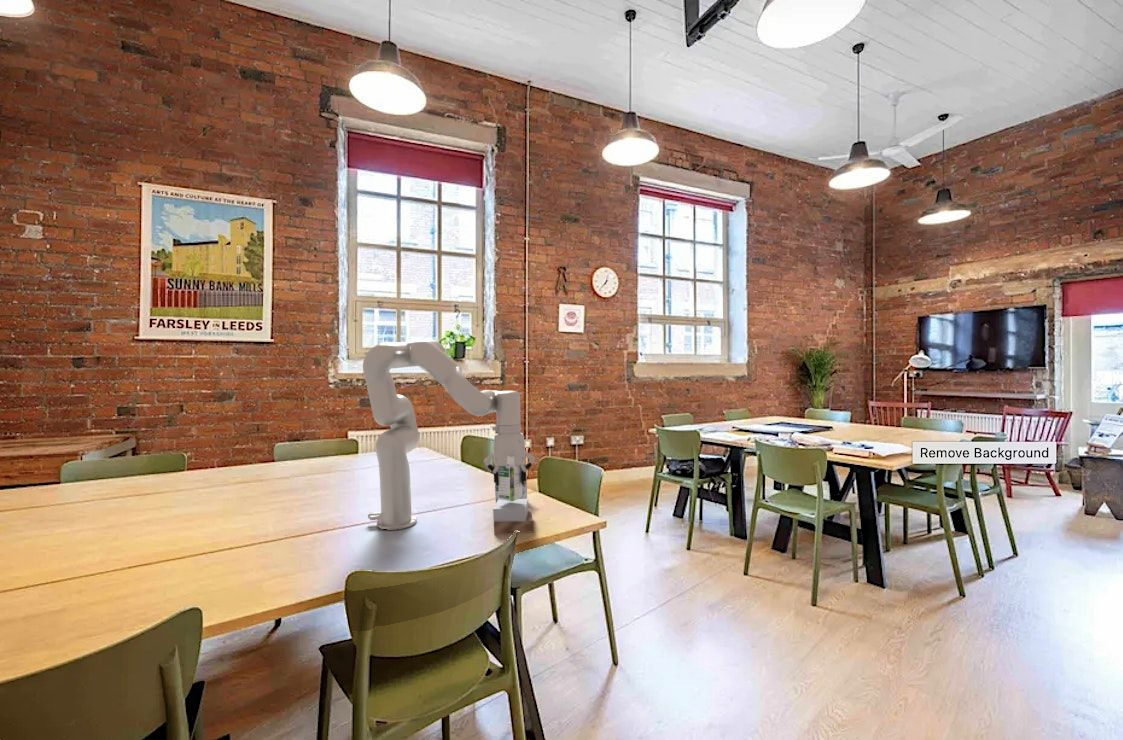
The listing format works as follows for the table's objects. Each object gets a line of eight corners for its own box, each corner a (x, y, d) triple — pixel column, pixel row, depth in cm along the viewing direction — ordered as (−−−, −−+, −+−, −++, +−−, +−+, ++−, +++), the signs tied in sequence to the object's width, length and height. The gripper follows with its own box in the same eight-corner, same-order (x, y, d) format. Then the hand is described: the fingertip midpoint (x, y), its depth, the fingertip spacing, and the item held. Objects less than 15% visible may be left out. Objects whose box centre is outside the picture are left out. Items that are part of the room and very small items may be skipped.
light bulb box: (508, 509, 176) (507, 479, 176) (494, 506, 180) (493, 477, 180) (528, 502, 185) (527, 473, 184) (514, 499, 189) (514, 471, 188)
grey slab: (493, 521, 155) (493, 509, 154) (498, 511, 165) (498, 499, 164) (525, 521, 154) (525, 508, 154) (528, 510, 164) (528, 498, 164)
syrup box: (497, 499, 158) (496, 454, 157) (508, 494, 163) (507, 450, 163) (512, 502, 155) (511, 456, 155) (522, 496, 161) (521, 452, 160)
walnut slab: (494, 535, 154) (493, 523, 153) (495, 522, 166) (495, 510, 165) (532, 533, 155) (532, 520, 155) (531, 520, 167) (531, 508, 166)
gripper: (480, 432, 154) (482, 488, 155) (536, 430, 156) (538, 486, 156) (481, 428, 161) (483, 482, 162) (535, 426, 163) (536, 479, 164)
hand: (510, 483), depth 159 cm, fingers closed on syrup box, 7 cm apart
